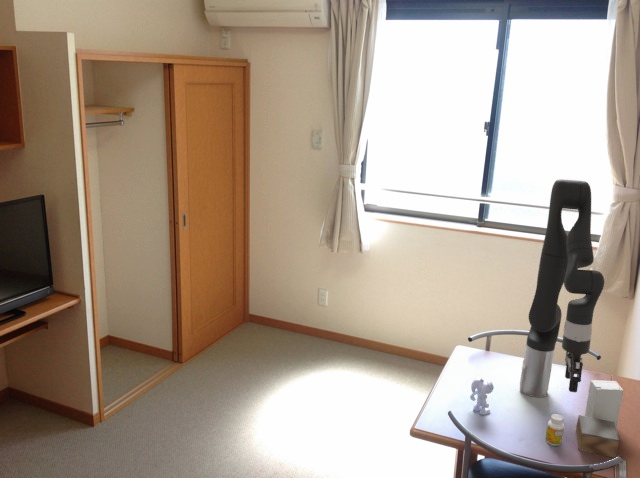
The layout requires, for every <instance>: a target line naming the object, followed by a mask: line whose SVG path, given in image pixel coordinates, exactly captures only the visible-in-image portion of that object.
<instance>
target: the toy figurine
mask: <svg viewBox="0 0 640 478" xmlns="http://www.w3.org/2000/svg"><path fill="white" fill-rule="evenodd" d="M470 385H471V392H472V394H471V395H470V400H471V401H472V402H475V401H476V400H477V401H476V404H475V405H474V406H473V409H472V410H473V412H478V413H479V415H481V416H484V415H485V416H486V415H490V413H491V411H490V408H489V407H490V405H489V403H487V398H488V395H489V394H492V392H493V391H494V384H493V382H492V380H487V379H483V378H475V379H474V380H473V381H472V383H471V384H470ZM475 395H477V399H476V397H475Z"/></svg>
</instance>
